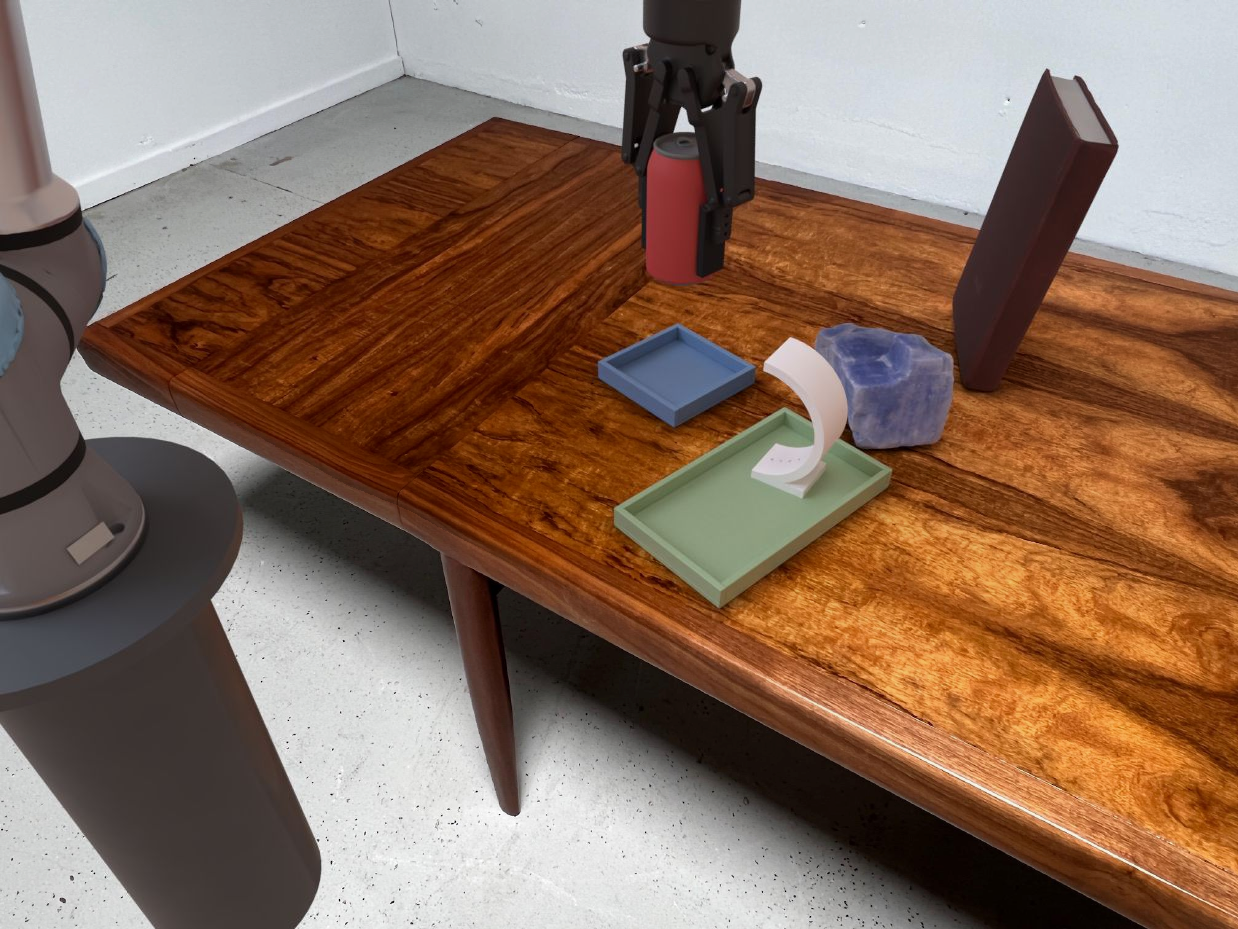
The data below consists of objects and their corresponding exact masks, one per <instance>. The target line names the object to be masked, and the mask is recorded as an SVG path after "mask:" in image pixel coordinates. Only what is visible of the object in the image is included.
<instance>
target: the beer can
mask: <svg viewBox="0 0 1238 929" xmlns="http://www.w3.org/2000/svg"><path fill="white" fill-rule="evenodd" d="M653 145H654V149H653V151H652V154H651V156H650V159H649V162H648V166H647V225H646V250H645V266H646V268H645V269H646V271H647V272H648V274H649V275H650V276H651V277H652V278H654V279H655V280H657V281H658V282H660V283H663V284H666V285H671V286H678V287H684V286H686V287H688V286H693V285H698V284H701V283H703V282H706V281H708V280H709V279H711V277H713V276H715V273H713V274H710V275H708V276H706V277H704V278H701V277H699V276H697V275H696V268H697V249H698V230H699V211H700V206H701V205H703V204H705V203H708V202H707V196H706V191H705V185H704V180H703V174H702V169H701V163H700V158H699V152H698V147H697V141H696V136H695V131H677V132H675V131H674V133H669V134H666V135H662V136H661V137H659V138H657V139H656V140H655V142H654V143H653ZM720 191H723V188H722V189H721V190H720Z"/></svg>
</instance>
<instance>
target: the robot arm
mask: <svg viewBox="0 0 1238 929" xmlns="http://www.w3.org/2000/svg"><path fill="white" fill-rule="evenodd" d="M741 9H742V0H642V30H643V32H644V34H645V35H646V36H647V38H649V41H648V42H645V43H642V44H639V45H634V46H630V47H627V48H624V49H623V51H622V54H621V55H622V62H623V69H624V75H625V83H624V84H625V86H624V87H625V89H624V103H623V105H624V106H623V118H622V119H623V120H622V133H621V134H622V136H621V152H620V157H621V158H620V159H621V161H622V162H623V164H624V165H631V167H633V169H634V173H635V175H636V176H637V177H638V189H637V191H638V198H637V199H638V200H637V201H638V202H637V203H638V206H639V209H641V229H640V230H641V231H640V232H641V234H640V235H641V236H640V237H641V239H640V242H641V245H640V247H641V249H643V250H645V251H646V225H647V166H648V162H649V159H650V156H651V154H652V151H653V149H654V145H653V143H654V142H655V140H656V139H657V138H659V137H661V136H662V135H666V134H669V133H675V129H676V126H677V122H678V119H679V116H680V112H681V109H682V108H683V109H684V110H685V112H686V117H687V122H688V124H689V125H690V126H692V127H693V131H694V132H695V136H696V141H697V147H698V152H699V158H700V163H701V169H702V174H703V180H704V185H705V191H706V196H707V202H708V203H705V204H703V205H701V206H700V211H699V230H698V249H697V268H696V275H697V276H699V277H701V278H704V277H706V276H708V275H710V274H713V273H714V274H715V273H717V272H719V271H721V270H723V269H724V266H725V253H726V252H725V251H726V241H727V242H728V241H729V240H730V238H731V236H732V227H733V215H734V214H733V213H734V209H735V208H737V207H739V206H741V205H745V204H747V203H749V202H751V201H753V200H754V198H755V195H756V194H755V188H756V184H755V183H756V181H755V180H756V132H757V130H756V129H757V128H756V127H757V107H758V104H759V101H760V97H761V94H762V90H763V80H761V78H760V77H759V76H752V77H750V78H747V77H746V76H745V75H743V74H742V73H740V72H739V71H738V70H736V64H735V60H734V56H733V51H732V46H733V43H734V41H735V39H736V37H737V35H738V34H739V30H740V26H741V25H740V24H741V12H742V11H741ZM23 16H24V15H23V11H22V7H21V0H0V621H2V620H15V619H22V618H27V617H32V616H37V615H40V614H44V613H47V612H51V611H54V610H57V609H59V608H62V607H65V606H67V605H69V604H72V603H74V602H76V601H78V600H80V599H82V598H84V597H86V596H88V595H90V594H91V593H93V592H95V591H96V590H98V589H99V588H101V587H103V586H104V585H106V584H107V583H108V582H110V581H111V580H112V579H114V578H115V577H116V576H117V575H118V574H119V573H121V572H122V571H123V570H124V569H125V568H126V567H127V566H128V565H129V564H130V562H131V561H132V560H133V559H134V558H135V556H136V555H137V554H138V552H139V551H140V549H141V547H142V546H143V543H144V541H145V539H146V536H147V533H148V527H149V520H148V515H147V512H146V509H145V507H144V505H143V503H142V501H141V499H140V497H139V495H138V494H137V493H136V491H135V490H134V488H133V487H132V486H131V485H130V483H128V482H127V481H126V480H125V479H124V478H123V477H122V476H121V475H120V474H119V473H118V472H116V471H115V470H114V469H113V468H112V467H111V466H110V465H109V464H108V463H107V462H106V461H104V460H103V459H102V458H101V457H100V456H99V455H98V454H97V453H96V452H95V451H93V450H92V449H91V448H90V447H89V446H88V445H87V444H86V442H85V440H86V439H85V438H84V435H83V434H82V431H81V429H80V428H79V425H78V423H77V421H76V418H75V417H74V415H73V413H72V410H71V408H70V407H69V405H68V403H67V401H66V399H65V396H64V394H63V392H62V386H61V382H62V379H63V377H64V375H65V374H66V371H67V369H68V366H69V364H70V362H71V360H72V358H73V356H74V354H75V352H76V349H77V347H78V345H79V343H80V341H81V340H82V337H83V335H84V332H85V330H86V328H87V326H88V324H89V323H90V321H91V320H92V319H93V317H94V316H95V315H96V313H97V311H98V310H99V308H100V306H101V304H102V301H103V298H104V292H106V286H107V277H108V276H107V275H108V260H107V255H106V250H105V245H104V243H103V241H102V238H101V237H100V235H99V233H98V232H97V229H96V228H95V226H94V225H93V224H92V222H91V221H90V219H88V218H87V217H86V216H83V211H82V205H81V199H80V196H79V193H78V191H77V189H76V188H75V187H74V186H73V185H71V184H70V183H69V182H68V181H66V180H65V179H63V178H62V177H60V176H59V175H57V174H56V173H55V172H53V168H52V164H51V158H50V153H49V147H48V142H47V136H46V132H45V126H44V120H43V116H42V110H41V105H40V100H39V94H38V90H37V84H36V79H35V73H34V69H33V63H32V59H31V52H30V47H29V42H28V37H27V32H26V27H25V22H24V17H23ZM707 108H710V109H707ZM704 109H707V110H704ZM703 110H704V111H703ZM636 145H637V146H636ZM722 188H723V190H722V191H720V190H721V189H722Z"/></svg>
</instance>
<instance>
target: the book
mask: <svg viewBox="0 0 1238 929" xmlns="http://www.w3.org/2000/svg"><path fill="white" fill-rule="evenodd" d="M1119 148H1120V145H1119V140H1118V139H1117V136H1116V134H1115V133H1114V131H1113V129H1112V127H1111V126H1110V124H1109V121H1108V120H1107V119H1106V116H1105V115H1104V113H1103V111H1102V109H1101V108H1100V107H1099V105H1098V104H1097V102H1096V100H1095V98H1094V96H1093V94H1092V92H1091V91H1090V90H1089V88H1088V85H1087V83H1086V81H1085V80H1084V79H1083V77H1082V76H1079V75H1076V74H1075V75H1074V76H1073V78H1072V79H1068V78H1063V77H1059V76H1054V75H1051V70H1050V69H1049V68H1045V70H1044V71H1043V73H1042V74H1041V77H1040V79H1039V81H1038V83H1037V86H1036V88H1035V90H1034V93H1033V95H1032V97H1031V99H1030V103H1029V105H1028V107H1027V110H1026V112H1025V114H1024V116H1023V120H1022V122H1021V124H1020V127H1019V130H1018V133H1017V135H1016V137H1015V140H1014V142H1013V145H1012V148H1011V150H1010V153H1009V155H1008V158H1007V160H1006V163H1005V165H1004V168H1003V170H1002V173H1001V176H1000V178H999V181H998V183H997V186H996V188H995V191H994V193H993V196H992V199H991V201H990V205H989V206H988V208H987V212H986V214H985V216H984V219H983V221H982V224H981V226H980V229H979V231H978V233H977V237H976V239H975V241H974V243H973V246H972V247H971V251H970V252H969V255H968V257H967V260H966V263H965V265H964V268H963V270H962V272H961V275H960V278H959V280H958V282H957V285H956V287H955V290H954V293H953V295H952V304H951V307H952V320H953V327H954V337H955V338H954V339H955V345H956V352H957V359H958V365H959V371H960V377H961V381H962V384H963V386H964V387H965V388H966V389H970V390H975V391H983V392H986V393H990V392H994V391H995V390H997V388H998V387H999V385H1000V383H1001V381H1002V379H1003V378H1004V376H1005V373H1006V371H1007V370H1008V368H1009V366H1010V364H1011V362H1012V361H1013V359H1014V356H1015V355H1016V354H1017V352H1018V349H1019V348H1020V346H1021V344H1022V342H1023V340H1024V338H1025V335H1026V334H1027V332H1028V329H1029V328H1030V327H1031V323H1033V320H1034V318H1035V316H1036V314H1037V313H1038V310H1039V309H1040V307H1041V305H1042V303H1043V302H1044V299H1045V297H1046V295H1047V293H1048V291H1049V289H1050V287H1051V286H1052V283H1053V282H1054V280H1055V278H1056V276H1057V274H1058V272H1059V270H1060V268H1061V266H1062V264H1063V262H1064V260H1065V258H1066V256H1067V254H1068V253H1069V250H1070V249H1071V247H1072V245H1073V243H1074V241H1075V239H1076V237H1077V235H1078V234H1079V231H1080V228H1081V226H1082V224H1083V223H1084V220H1085V219H1086V217H1087V214H1088V212H1089V210H1090V208H1091V206H1092V204H1093V202H1094V201H1095V198H1096V196H1097V194H1098V192H1099V190H1100V188H1101V186H1102V183H1103V182H1104V180H1105V178H1106V176H1107V174H1108V173H1109V170H1110V168H1111V167H1112V165H1113V163H1114V160H1115V159H1116V156H1117V154H1118V151H1119Z"/></svg>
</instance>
